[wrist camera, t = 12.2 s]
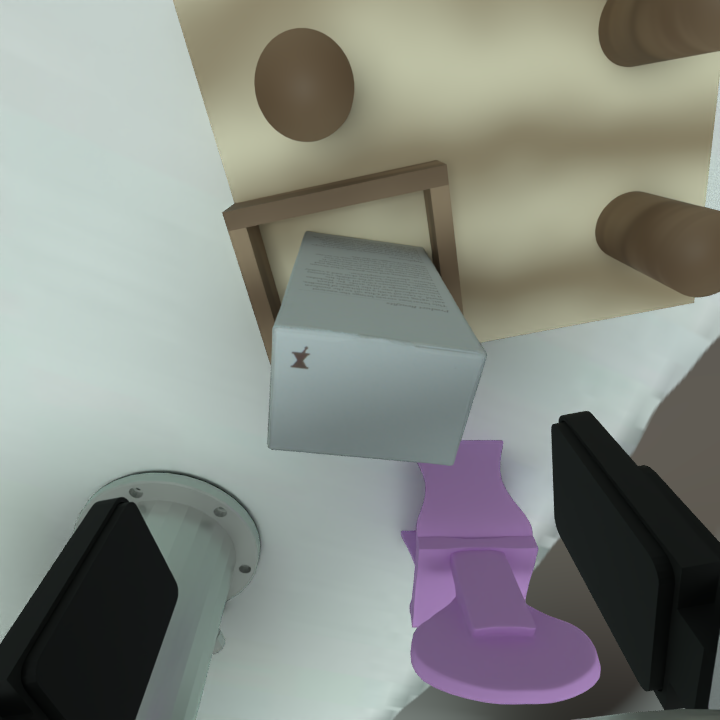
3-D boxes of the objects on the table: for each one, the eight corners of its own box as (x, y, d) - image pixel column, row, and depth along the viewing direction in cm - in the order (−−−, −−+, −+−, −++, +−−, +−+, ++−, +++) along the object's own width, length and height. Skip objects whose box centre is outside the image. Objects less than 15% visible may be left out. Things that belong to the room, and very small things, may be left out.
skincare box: (297, 311, 25) (259, 452, 15) (304, 228, 24) (268, 321, 13) (411, 325, 26) (456, 472, 15) (428, 245, 24) (491, 348, 13)
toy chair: (386, 539, 36) (409, 795, 22) (391, 440, 32) (422, 678, 18) (499, 538, 36) (589, 791, 22) (518, 439, 32) (641, 675, 18)
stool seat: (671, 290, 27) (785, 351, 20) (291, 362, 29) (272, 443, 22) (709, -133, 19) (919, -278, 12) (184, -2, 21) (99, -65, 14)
